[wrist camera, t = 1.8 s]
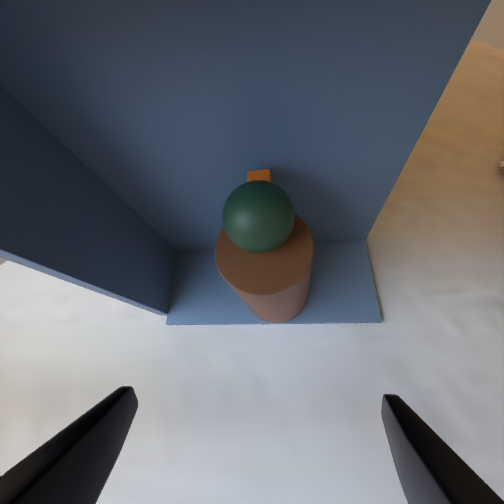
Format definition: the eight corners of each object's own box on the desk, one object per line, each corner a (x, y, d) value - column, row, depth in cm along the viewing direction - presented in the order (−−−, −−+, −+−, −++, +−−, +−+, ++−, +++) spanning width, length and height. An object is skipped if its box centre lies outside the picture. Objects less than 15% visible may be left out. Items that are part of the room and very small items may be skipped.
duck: (310, 322, 22) (325, 269, 10) (244, 323, 23) (182, 275, 11) (304, 249, 25) (309, 138, 13) (246, 252, 26) (200, 152, 14)
